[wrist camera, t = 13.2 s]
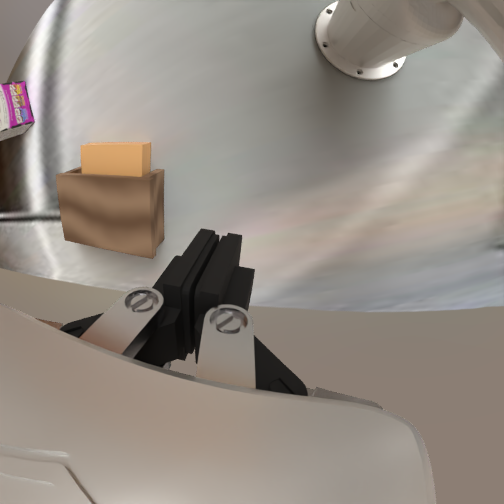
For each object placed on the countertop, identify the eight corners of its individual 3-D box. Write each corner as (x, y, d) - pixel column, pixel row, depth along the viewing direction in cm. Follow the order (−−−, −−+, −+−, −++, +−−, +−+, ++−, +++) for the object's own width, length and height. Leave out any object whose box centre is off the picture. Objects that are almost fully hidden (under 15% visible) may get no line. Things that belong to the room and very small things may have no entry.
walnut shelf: (79, 165, 38) (55, 175, 33) (169, 169, 37) (149, 180, 32) (85, 225, 44) (64, 240, 38) (168, 239, 43) (152, 258, 37)
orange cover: (90, 142, 36) (80, 145, 34) (150, 142, 35) (142, 144, 33) (95, 219, 43) (86, 225, 40) (151, 228, 42) (144, 235, 40)
